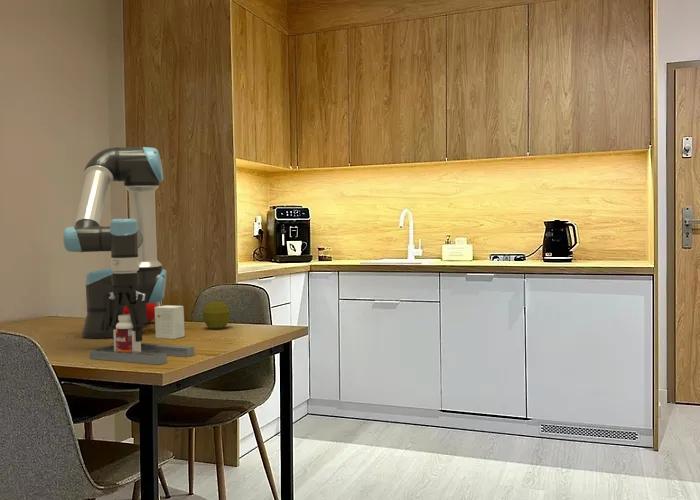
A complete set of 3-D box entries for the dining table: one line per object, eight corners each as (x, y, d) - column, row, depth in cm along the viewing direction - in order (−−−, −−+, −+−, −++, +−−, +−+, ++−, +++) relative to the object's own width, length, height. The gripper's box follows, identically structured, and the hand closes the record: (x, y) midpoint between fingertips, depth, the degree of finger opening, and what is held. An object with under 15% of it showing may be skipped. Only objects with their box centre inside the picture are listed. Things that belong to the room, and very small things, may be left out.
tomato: (126, 322, 272) (125, 294, 271) (160, 321, 273) (159, 293, 273) (119, 326, 260) (118, 297, 259) (154, 325, 261) (154, 296, 261)
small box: (185, 336, 232) (184, 305, 232) (174, 339, 227) (173, 307, 226) (166, 335, 235) (165, 304, 235) (155, 338, 230) (154, 306, 230)
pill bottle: (112, 353, 198) (111, 315, 198) (131, 350, 203) (130, 313, 202) (124, 355, 194) (122, 316, 194) (143, 352, 199) (142, 314, 198)
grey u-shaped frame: (89, 358, 195) (89, 350, 195) (127, 349, 208) (127, 341, 208) (158, 364, 184) (158, 355, 184) (194, 354, 198) (194, 346, 198)
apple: (234, 328, 248) (234, 298, 248) (209, 331, 243) (208, 300, 242) (223, 325, 256) (222, 296, 256) (198, 328, 251) (198, 298, 251)
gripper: (90, 272, 198) (93, 352, 199) (141, 273, 190) (144, 356, 191) (109, 271, 205) (112, 348, 206) (160, 271, 197) (162, 351, 198)
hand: (127, 351), depth 198 cm, fingers closed on pill bottle, 6 cm apart
